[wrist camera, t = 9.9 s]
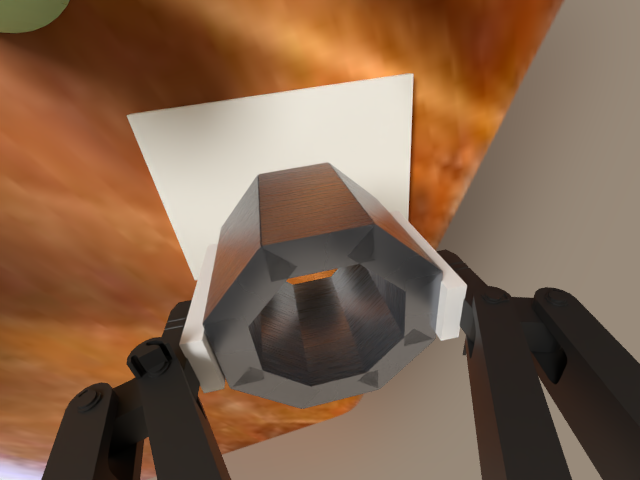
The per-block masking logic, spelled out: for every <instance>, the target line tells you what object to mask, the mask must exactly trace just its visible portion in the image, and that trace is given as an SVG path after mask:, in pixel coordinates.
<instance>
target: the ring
mask: <svg viewBox="0 0 640 480" xmlns="http://www.w3.org/2000/svg"><path fill="white" fill-rule="evenodd" d="M337 268H338V269H337ZM332 269H337V271H336V272H335V273H334V274H333V275H332V276H331V277H328V278H323V279H318V280H314V281H309V282H304V283H299V284H294V285H292V284H290V283H288V282H286V280H287V279H289V278H294V277H298V276H303V275H308V274H313V273H318V272H322V271H327V270H332ZM442 277H443V271H442V270H441V269H440V268H439V267H438V266H437V264H436V263H435V262H434V261H433V260H432V259H431V258H430V257H429V256H428V255H427V253H426V252H425V251H424V250H423V249H422V248H421V247H420V246H419V245H418V244H417V242H416V241H415V240H414V239H413V238H412V237H411V236H410V235H409V234H408V233H407V231H406V230H405V229H404V228H403V227H402V226H401V225H400V224H399V223H398V222H397V220H396V219H395V218H394V217H393V216H392V215H391V214H390V213H389V212H388V211H387V209H386V208H385V207H384V206H383V205H382V204H381V203H380V202H379V201H378V200H377V199H376V198H375V197H374V196H373V195H371V194H370V193H369V192H367V191H366V190H365V189H363V188H362V187H361V186H359V185H358V184H357V183H355V182H354V181H353V180H351V179H350V178H349V177H347V176H346V175H345V174H343V173H342V172H341V171H340V170H338V169H337V168H336V167H334V166H333V165H332V164H330V163H328V162H326V163H320V164H314V165H309V166H303V167H297V168H291V169H285V170H279V171H274V172H268V173H262V174H259V175H257V176H256V178H255V179H254V181H253V182H252V183H251V185H250V186H249V188H248V189H247V191H246V192H245V194H244V195H243V197H242V198H241V199H240V201H239V202H238V204H237V205H236V207H235V208H234V210H233V211H232V213H231V214H230V215H229V217H228V218H227V220H226V221H225V223H224V224H223V226H222V227H221V231H220V236H219V241H218V246H217V251H216V256H215V261H214V266H213V272H212V277H211V282H210V287H209V292H208V297H207V302H206V307H205V313H204V318H203V324H202V325H203V327H204V329H205V332H206V334H207V336H208V339H209V341H210V343H211V345H212V348H213V350H214V352H215V355H216V357H217V359H218V361H219V364H220V366H221V368H222V371H223V373H224V375H225V377H226V380H227V382H228V384H229V387H230V388H231V389H234V390H237V391H241V392H244V393H248V394H252V395H255V396H259V397H262V398H266V399H269V400H273V401H276V402H280V403H283V404H287V405H290V406H294V407H297V408H301V409H302V408H303V409H304V408H308V407H312V406H316V405H320V404H324V403H328V402H332V401H336V400H340V399H344V398H348V397H351V396H355V395H359V394H363V393H367V392H371V391H375V390H378V389H380V388H381V387H383V386H384V385H385V384H386V383H387V382H388V381H389V380H390V379H392V378H393V377H394V376H395V375H396V374H397V373H398V372H399V371H401V370H402V369H403V368H404V367H405V366H406V365H407V364H408V363H409V362H411V361H412V360H413V359H414V358H415V357H416V356H417V355H418V354H419V353H421V352H422V351H423V350H424V349H425V348H426V347H427V346H428V345H430V344H431V343H432V342H433V341H434V340H435V338H436V333H435V332H436V323H437V314H438V305H439V296H440V287H441V281H442Z"/></svg>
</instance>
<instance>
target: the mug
mask: <svg viewBox="0 0 640 480" xmlns="http://www.w3.org/2000/svg"><path fill="white" fill-rule="evenodd" d="M69 1H70V0H0V32H2V33H22V32H29V31H34V30H36V29H39V28H41V27H44V26H46V25H48V24H49V23H50V22H52V21H53V20H55V19H56V18H57V17H58V16H59V15H60V14H61V13H62V11H63V10H64V9H65V8H66V6H67V5H68V3H69Z"/></svg>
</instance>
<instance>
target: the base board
mask: <svg viewBox="0 0 640 480" xmlns="http://www.w3.org/2000/svg"><path fill="white" fill-rule="evenodd" d="M412 101H413V74H411V73H408V74H401V75H394V76H387V77H380V78H373V79H366V80H359V81H353V82H346V83H339V84H332V85H325V86H318V87H311V88H304V89H297V90H290V91H284V92H277V93H270V94H263V95H256V96H249V97H242V98H235V99H228V100H222V101H215V102H208V103H201V104H194V105H187V106H180V107H173V108H166V109H160V110H153V111H146V112H139V113H132V114H129V115H127V118H128V120H129V123H130V125H131V127H132V130H133V132H134V135H135V137H136V140H137V142H138V144H139V147H140V149H141V152H142V154H143V156H144V159H145V161H146V164H147V166H148V168H149V171H150V173H151V176H152V178H153V181H154V183H155V185H156V188H157V190H158V193H159V195H160V197H161V200H162V202H163V205H164V207H165V209H166V212H167V214H168V217H169V219H170V222H171V224H172V226H173V229H174V231H175V234H176V236H177V238H178V241H179V243H180V246H181V248H182V251H183V253H184V255H185V258H186V260H187V263H188V265H189V267H190V270H191V272H192V275H193V277H194V279H195V280H198V278H199V274H200V271H201V267H202V264H203V260H204V257H205V254H206V250H207V247H208V245H213V244H218V241H219V236H220V231H221V227H222V226H223V224H224V223H225V221H226V220H227V218H228V217H229V215H230V214H231V213H232V211H233V210H234V208H235V207H236V205H237V204H238V202H239V201H240V199H241V198H242V197H243V195H244V194H245V192H246V191H247V189H248V188H249V186H250V185H251V183H252V182H253V181H254V179H255V178H256V176H257V175H259V174H262V173H268V172H274V171H279V170H285V169H291V168H297V167H303V166H309V165H314V164H320V163H326V162H328V163H330V164H332V165H333V166H334V167H336V168H337V169H338V170H340V171H341V172H342V173H343V174H345V175H346V176H347V177H349V178H350V179H351V180H353V181H354V182H355V183H357V184H358V185H359V186H361V187H362V188H363V189H365V190H366V191H367V192H369V193H370V194H371V195H373V196H374V197H375V198H376V199H377V200H378V201H379V202H380V203H381V204H382V205H383V206H384V207H385V208H386V209H387V211H388V212H393V211H399V212H400V213H401V214H402V215H403V216H404V217H405V218H406V220H407V221H408V213H409V185H410V157H411V129H412Z"/></svg>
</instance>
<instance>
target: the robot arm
mask: <svg viewBox="0 0 640 480" xmlns="http://www.w3.org/2000/svg"><path fill="white" fill-rule="evenodd" d="M389 213H390V214H391V215H392V216H393V217H394V218H395V219H396V220H397V222H398V223H399V224H400V225H401V226H402V227H403V228H404V229H405V230H406V231H407V233H408V234H409V235H410V236H411V237H412V238H413V239H414V240H415V241H416V242H417V244H418V245H419V246H420V247H421V248H422V249H423V250H424V251H425V252H426V253H427V255H428V256H429V257H430V258H431V259H432V260H433V261H434V262H435V263H436V264H437V266H438V267H439V268H440V269H441V270H442V271H443V277H442V281H441V287H440V296H439V305H438V314H437V323H436V332H435V333H436V334H437V336H438V337H439V339H440V340H441V341H443V340H447V339H452V338H456V337H459V331H460V327H461V328H462V330H463V331H464V332H465V334H466V339H465V345H464V350H463V355H466V354H467V361H468V370H469V378H470V386H471V394H472V402H473V410H474V418H475V426H476V434H477V442H478V450H479V459H480V466H481V475H482V480H572V478H571V475H570V472H569V469H568V466H567V463H566V460H565V457H564V454H563V451H562V448H561V445H560V441H559V438H558V435H557V432H556V429H555V427H554V423H553V420H552V417H551V414H550V411H549V408H548V405H547V402H546V399H545V396H544V393H543V390H542V387H541V384H540V381H539V378H540V380H541V381H542V383H543V384H544V386H545V387H546V389H547V391H548V392H549V394H550V396H551V397H552V399H553V400H554V402H555V404H556V405H557V407H558V408H559V410H560V412H561V413H562V415H563V416H564V418H565V420H566V421H567V423H568V424H569V426H570V428H571V429H572V431H573V433H574V434H575V436H576V437H577V439H578V441H579V442H580V444H581V445H582V447H583V449H584V450H585V452H586V453H587V455H588V456H589V458H590V460H591V462H592V463H593V465H594V466H595V468H596V469H597V471H598V473H599V474H600V476H601V478H602V479H603V480H640V364H639V363H638V362H637V361H636V360H635V359H634V358H633V356H632V355H630V353H629V352H628V351H627V350H626V349H625V348H624V347H623V346H622V345H621V344H620V343H619V342H618V341H617V340H616V339H615V338H614V337H613V336H612V335H611V334H610V333H609V332H608V331H607V330H606V329H605V328H604V327H603V326H602V325H601V324H600V322H598V320H597V319H596V318H595V317H594V316H593V315H592V314H591V313H590V312H589V311H588V310H587V309H586V308H585V307H584V306H583V305H582V304H581V303H580V302H579V301H578V300H577V299H576V298H575V297H574V296H572V295H571V294H570V293H567V292H565V291H563V290H560V289H556V288H547V287H545V288H541V289H539V290H537V291H536V292H535V295H534V298H522V297H520V298H519V297H511V296H510V295H509V294H508V293H507V292H506V291H504V290H502V289H499V288H497V287H492V286H487V285H486V284H485V283H484V282H483V281H482V280H481V279H480V278H479V277H478V276H477V275H476V274H475V273H474V272H473V271H472V270H471V269H470V268H468V266H467V265H466V264H465V263H463V261H462V260H461V259H460V258H459V257H458V256H457V255H456V254H454V253H452V252H450V251H448V250H442V251H435V250H434V249H433V248H432V247H431V245H430V244H429V243H428V242H427V241H426V240H425V239H424V238H423V237H422V236H421V235H420V234H419V232H418V231H417V230H416V229H415V228H414V227H413V226H412V225H411V224H410V223H409V222H408V221H407V220H406V218H405V217H404V216H403V215H402V214H401V213H400V212H399V211H393V212H389ZM217 246H218V244H213V245H208V247H207V250H206V254H205V257H204V260H203V264H202V267H201V271H200V274H199V278H198V281H197V285H196V288H195V292H194V295H193V298H192V300H190V301H185V302H180V303H178V304H177V305H176V306H175V307H174V309H173V310H172V311H171V312H170V315H169V318H168V321H167V322H168V323H166V326H165V330H164V332H163V335H162V337H158V338H152V339H149V340H146V341H144V342H143V343H141V344H139V345H138V346H137V347H136V348H135V349H134V350H133V351H131V353H130V355H129V356H128V358H127V365H128V367H129V368H130V370H131V371H132V373H133V374H134V376H135V377H136V378H134V379H132V380H130V381H128V382H126V383H124V384H122V385H120V386H117V387H115V388H113V389H112V387H111V386H110V385H109V384H108V383H98V384H93V385H91V386H89V387H87V388H85V389H84V390H83V391H81V392H80V393H79V394H77V395H76V396H75V397H74V398H73V399H72V400H71V402H70V403H69V405H68V406H67V408H66V410H65V413H64V416H63V419H62V422H61V425H60V427H59V430H58V433H57V436H56V439H55V442H54V445H53V448H52V451H51V453H50V456H49V459H48V462H47V465H46V468H45V471H44V474H43V477H42V479H41V480H140V474H141V465H142V455H143V445H144V439H145V438H147V437H149V440H150V445H151V450H152V455H153V460H154V465H155V470H156V475H157V480H231V478H230V476H229V473H228V470H227V468H226V465H225V463H224V460H223V457H222V455H221V452H220V450H219V447H218V445H217V442H216V439H215V437H214V434H213V432H212V429H211V427H210V424H209V421H208V419H207V416H206V414H205V411H204V409H203V406H202V403H201V401H200V399H199V397H198V391H199V386H201V388H202V390H203V392H204V393H208V392H212V391H217V390H221V389H224V386H225V375H224V373H223V371H222V368H221V366H220V364H219V361H218V359H217V357H216V355H215V352H214V350H213V348H212V345H211V343H210V341H209V339H208V336H207V334H206V332H205V329H204V327H203V325H202V324H203V318H204V313H205V307H206V302H207V297H208V292H209V287H210V282H211V277H212V272H213V266H214V261H215V256H216V251H217ZM538 376H539V378H538Z"/></svg>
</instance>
